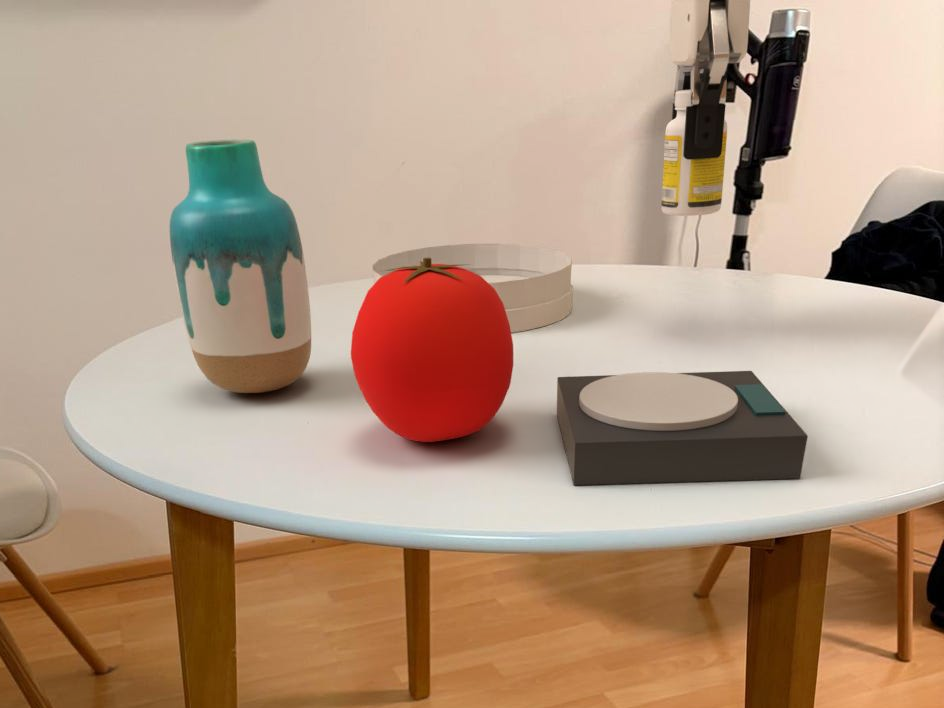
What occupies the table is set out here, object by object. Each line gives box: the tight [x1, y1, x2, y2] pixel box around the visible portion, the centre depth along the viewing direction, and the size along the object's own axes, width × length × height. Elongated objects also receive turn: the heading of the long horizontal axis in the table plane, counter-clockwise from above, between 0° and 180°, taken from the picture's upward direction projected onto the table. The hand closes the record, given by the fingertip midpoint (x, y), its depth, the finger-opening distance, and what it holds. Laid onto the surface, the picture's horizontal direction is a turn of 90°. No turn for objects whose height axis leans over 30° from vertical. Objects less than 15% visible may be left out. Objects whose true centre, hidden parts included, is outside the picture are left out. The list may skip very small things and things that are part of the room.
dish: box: [372, 243, 574, 334], centre depth 100 cm, size 22×22×5 cm
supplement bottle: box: [661, 90, 728, 217], centre depth 82 cm, size 5×5×10 cm
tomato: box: [350, 258, 514, 443], centre depth 66 cm, size 12×12×13 cm
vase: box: [169, 139, 312, 394], centre depth 75 cm, size 11×11×19 cm
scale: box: [556, 370, 809, 486], centre depth 65 cm, size 15×14×4 cm
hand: (694, 152), depth 82 cm, fingers closed on supplement bottle, 5 cm apart
